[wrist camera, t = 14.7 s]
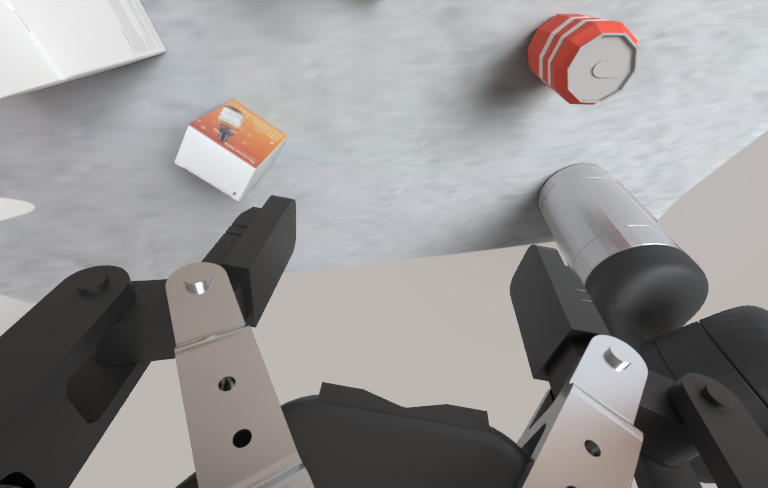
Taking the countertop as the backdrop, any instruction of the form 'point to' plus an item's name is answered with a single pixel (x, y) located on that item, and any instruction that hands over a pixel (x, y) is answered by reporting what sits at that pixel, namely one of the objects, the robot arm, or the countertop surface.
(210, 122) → the small box
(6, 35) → the supplement box
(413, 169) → the countertop surface
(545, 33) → the beverage can
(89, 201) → the countertop surface
